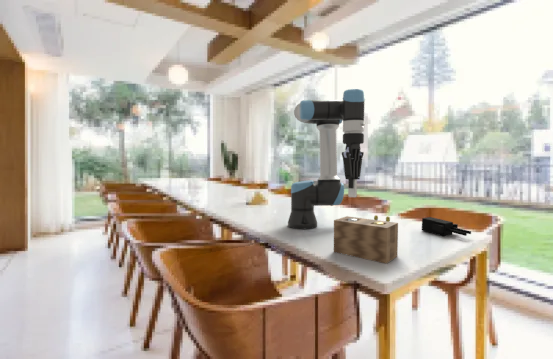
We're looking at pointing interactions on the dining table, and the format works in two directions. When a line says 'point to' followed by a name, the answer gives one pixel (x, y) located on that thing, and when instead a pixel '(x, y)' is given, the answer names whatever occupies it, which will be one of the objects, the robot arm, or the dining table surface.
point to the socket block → (366, 239)
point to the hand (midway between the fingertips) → (352, 196)
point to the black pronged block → (441, 227)
